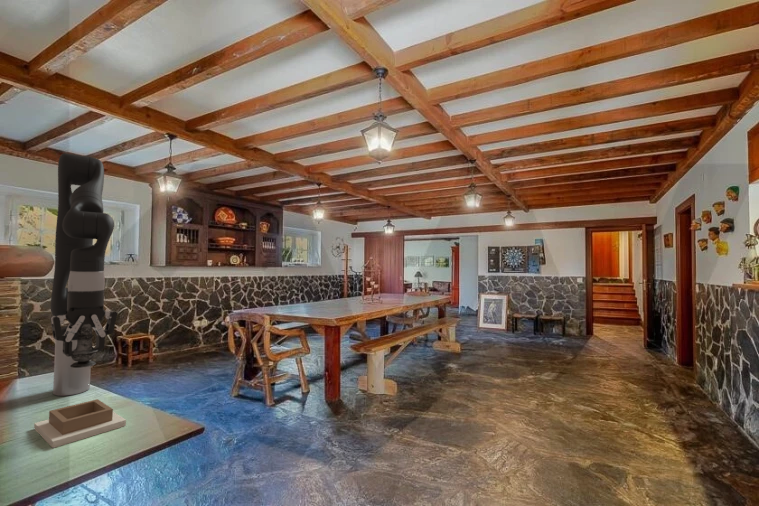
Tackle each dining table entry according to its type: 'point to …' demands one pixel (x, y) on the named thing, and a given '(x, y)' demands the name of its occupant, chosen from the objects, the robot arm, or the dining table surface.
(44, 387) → the dining table surface
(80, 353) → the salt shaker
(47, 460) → the dining table surface
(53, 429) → the shaker stand
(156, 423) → the dining table surface
